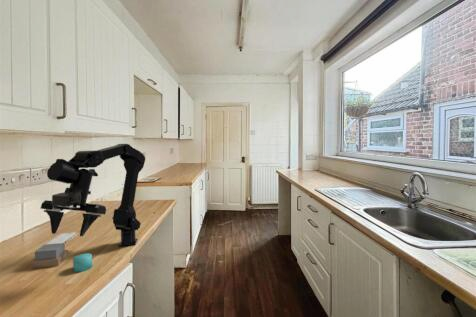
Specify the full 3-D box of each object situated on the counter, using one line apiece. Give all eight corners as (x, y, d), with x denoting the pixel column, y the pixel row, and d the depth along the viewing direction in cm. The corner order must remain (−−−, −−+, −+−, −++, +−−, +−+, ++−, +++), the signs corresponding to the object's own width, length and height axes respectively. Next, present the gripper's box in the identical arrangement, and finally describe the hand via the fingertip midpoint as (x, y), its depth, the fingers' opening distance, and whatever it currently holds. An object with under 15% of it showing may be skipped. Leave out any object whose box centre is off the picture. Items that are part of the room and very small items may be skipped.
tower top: (45, 252, 94) (44, 244, 94) (64, 250, 95) (64, 242, 95) (35, 260, 87) (34, 251, 87) (56, 258, 89) (56, 249, 89)
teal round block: (77, 265, 89) (76, 254, 88) (94, 263, 90) (94, 252, 90) (70, 273, 83) (70, 261, 83) (89, 271, 85) (88, 259, 84)
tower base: (43, 259, 94) (43, 252, 94) (68, 257, 96) (67, 249, 96) (31, 270, 87) (31, 261, 86) (58, 267, 88) (58, 258, 88)
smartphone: (41, 246, 105) (62, 233, 120) (41, 248, 106) (62, 235, 120) (60, 245, 106) (78, 232, 121) (60, 247, 106) (78, 234, 121)
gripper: (34, 179, 78) (17, 232, 74) (92, 184, 77) (79, 237, 73) (59, 186, 89) (46, 232, 84) (111, 190, 88) (100, 237, 83)
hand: (67, 234), depth 81 cm, fingers open, 9 cm apart
